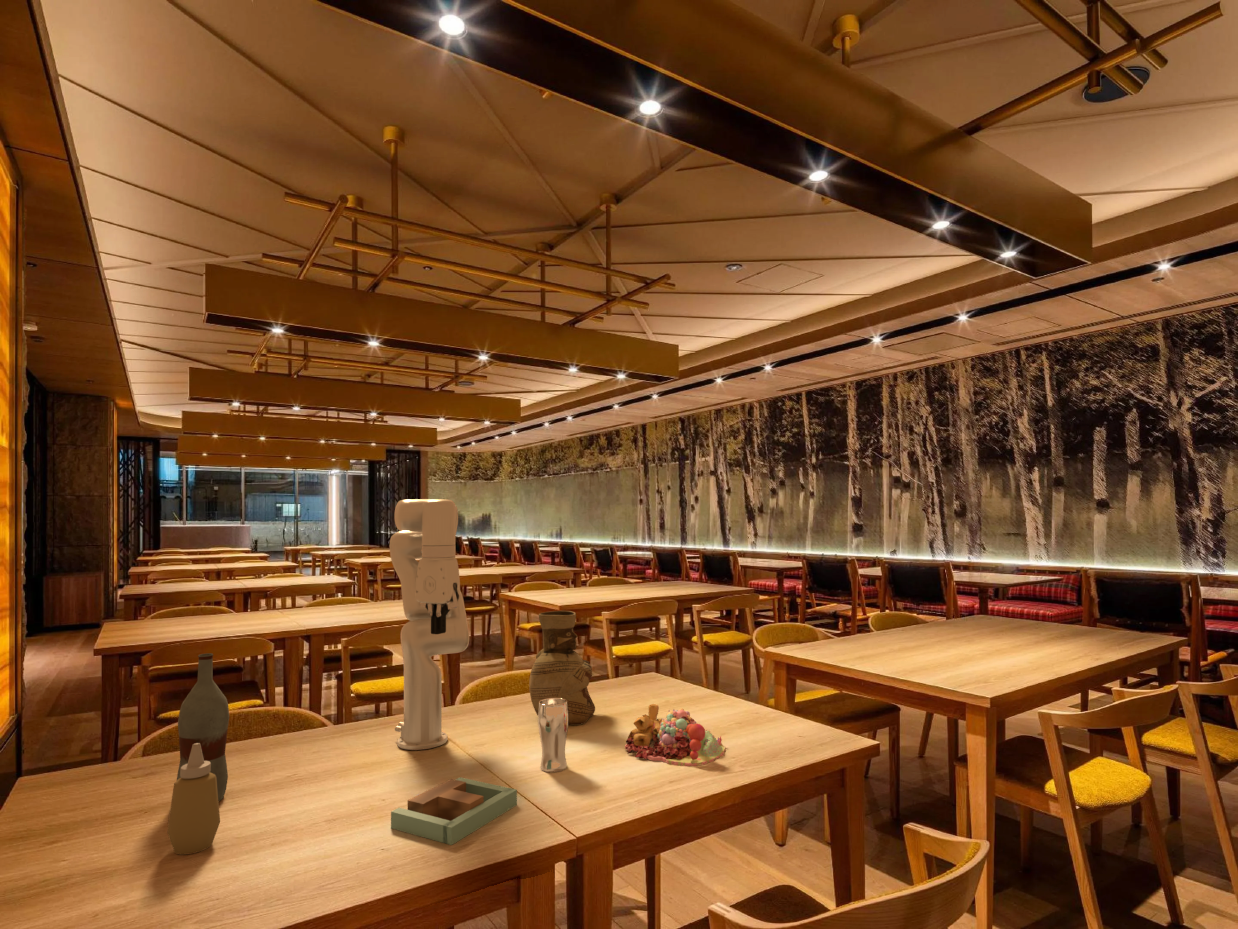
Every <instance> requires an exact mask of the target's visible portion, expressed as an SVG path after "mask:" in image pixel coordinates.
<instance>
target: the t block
mask: <svg viewBox="0 0 1238 929" xmlns="http://www.w3.org/2000/svg"><path fill="white" fill-rule="evenodd" d="M483 802H484V796H480V795H476V794H472V793H467V792H466V782H463V781H458V780H456V779H454V778H450V779H448V780H446V781H444V782H442V783H440V784H438V785H436V786H433V787H432V788H430V789H428V790H426V791H424V792H422V793H420V794H418V795H416V796H413V797H412V798H410V799H408V800H407V810H410V811H414V812H418V813H422V814H426V815H430V816H434V817H438V818H442V819H445V820H449V821H452V820H453V819H455V818H457V817H459V816H460V815H462V814H464V813H466V812H467V811H469V810H471V809H473V808H474V807H476V806H478V805H480V804H481V803H483Z"/></svg>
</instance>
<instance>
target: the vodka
mask: <svg viewBox="0 0 1238 929" xmlns="http://www.w3.org/2000/svg"><path fill="white" fill-rule="evenodd" d="M197 657H198V661H197V662H198V664H197V666H198V667H197V681H196V683H195V684H194V686H193V687H192V688H191V690H190V691H189V693H188V694H187V695H186V697H185V698H184V700H183V701H182V703H181V706H180V709H179V714H178V718H177V730H178V742H179V743H178V744H179V745H178V746H179V760H180V761H179V764H178V770H177V775H176V781H177V780H178V779H179V778H181V776H180V770H181V767H182V766H183V765H185V764H188V760H189V757H190V753H191V749H192V745H193V744H195V743H200V745H201V749H202V754H203V758H204V761H210V763H211V771H210V773H213V774H215V775H216V779H217V791H218V802H220V801H221V800H223V799H224V798H225V794H226V791H227V786H228V778H229V771H228V764H227V758H226V747H227V739H228V738H227V735H228V730H229V729H228V728H229V723H230V722H229V721H230V710H229V708H230V707H229V703H228V699H227V697H226V696H225V694H224V693H223V691H222V690H221V689H220V688H219V686H218V685H217V683H216V682H215V681H214V679H213V674H214V673H213V663H214V662H213V660H214V659H213V657H214V654H213V653H212V652H211V653H210V652H209V653H207V652H206V653H201V654H198V656H197ZM176 781H175V782H176Z"/></svg>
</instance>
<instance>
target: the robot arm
mask: <svg viewBox="0 0 1238 929" xmlns="http://www.w3.org/2000/svg"><path fill="white" fill-rule="evenodd" d="M394 508H395V510H394V524H395V526H396V528H397V530H398V531H397V532H395V533H393V534H392V535H391V537H390V540H389V555H390V560H391V564H392V566H393V569H394V570H395V573H396V575H397V576H398V578H399V579H398V580H399V581H400V588H401V589H400V590H401V596H402V597H401V600H402V607H403V613H404V616H405V617H406V620H408V622H406V623H404V624H403V626H402V627H401V630H400V645H401V650H402V652H401V653H402V661H403V721H399V723H398V725H396V726H395V728H394V731H395V732H398V733H399V732H400V736H399V737H398V739H397V741H396V744H397V747H399V749H402V750H411V751H417V750H418V751H420V750H421V751H422V750H427V749H428V750H429V749H433V748H436V747H439V746H442V745H444V744H445V743H447V741H448V739H449V738H448V737H449V736H448V734H447V733H446V732H444V731H443V730H442V727H443V726H442V721H443V720H442V717H443V716H442V713H443V712H442V709H443V708H442V706H443V705H442V699H443V698H442V694H443V693H442V692H443V691H442V689H443V688H442V684H443V682H442V680H443V678H442V677H443V676H442V670H441V668H440V666H439V665H438V664H437V663H436V662H435V661H434V659H432V657H433V656H437V655H438V656H439V655H447V654H458V653H462V652H464V651H465V650H466V649H467V648H468V647H469V643H470V630H469V623H468V619H467V618H468V617H467V613H466V608H465V601H464V596H463V593H462V592H461V580H460V569H459V564H458V559H457V558H456V535H457V530H458V524H459V512H458V510H459V509H458V507H457V505H456V503H455V502H454V501H453V500H451V499H445V498H444V499H443V498H439V499H437V498H436V499H433V498H431V499H429V498H422V499H421V498H420V499H418V498H415V499H401V500H398V502H397V503H396V506H395V507H394ZM418 560H419V561H418Z"/></svg>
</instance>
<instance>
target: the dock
mask: <svg viewBox="0 0 1238 929" xmlns="http://www.w3.org/2000/svg"><path fill="white" fill-rule="evenodd" d="M455 780H458V781H463V782H466V792H467V793H472V794H476V795H480V796H484V802H483V803H481V804H480V805H478V806H476V807H474V808H473V809H471V810H469V811H467V812H466V813H464V814H462V815H460V816H459V817H457V818H455V819H453V820H452V821H449V820H445V819H442V818H438V817H434V816H430V815H426V814H422V813H418V812H414V811H410V810H408V808H407V809H406V808H403V807H397V808H395V809H393V810H391V811H390V829H394V830H397V831H400V832H404V833H407V834H411V835H414V836H417V837H422V838H425V839H428V840H432V841H436V842H438V843H442V844H446V845H450V846H453V845H454V844H456V843H458V842H459V841H461V840H462V839H464V838H465V837H467V836H469V835H471V834H472V833H473V832H475V831H477V830H479V829H480V828H481V827H484V826H486V825H487V824H489V823H490V822H491V821H493V820H495V819H496V818H498V817H500V816H502V815H503V814H505V813H506V812H508V811H509V810H511V809H513V808H515V807H516V806H518V789H517V788H511V787H507V786H502V785H497V784H494V783H488V782H484V781H479V780H476V779H475V780H474V779H470V778H464V777H461V776H459V777H458V778H456V779H455Z"/></svg>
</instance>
